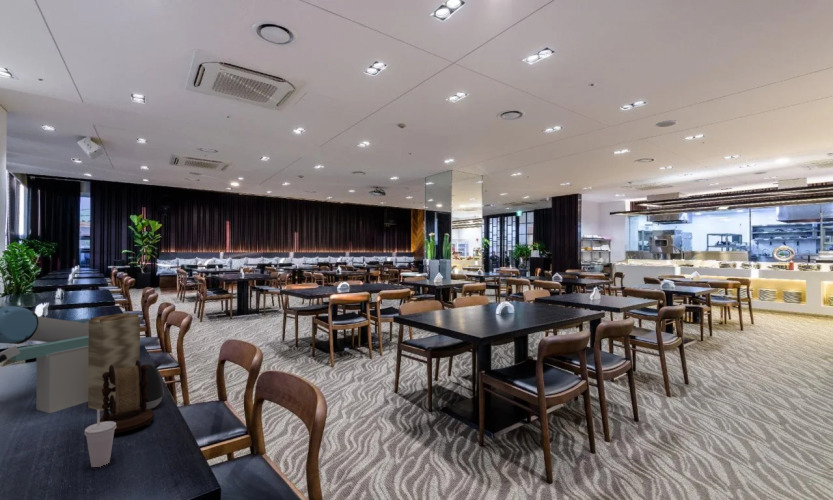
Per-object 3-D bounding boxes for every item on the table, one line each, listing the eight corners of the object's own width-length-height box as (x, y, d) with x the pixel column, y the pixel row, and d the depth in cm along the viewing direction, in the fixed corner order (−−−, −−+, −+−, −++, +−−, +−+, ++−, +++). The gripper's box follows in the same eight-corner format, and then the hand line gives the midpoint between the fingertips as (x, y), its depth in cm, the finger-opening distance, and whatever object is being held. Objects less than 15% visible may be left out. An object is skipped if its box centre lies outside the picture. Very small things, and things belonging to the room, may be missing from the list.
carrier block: (49, 413, 129) (49, 354, 128) (36, 409, 132) (36, 351, 132) (103, 396, 143) (104, 343, 143) (90, 393, 146) (91, 340, 146)
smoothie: (96, 457, 102) (96, 404, 102) (122, 456, 103) (122, 404, 103) (77, 471, 96) (77, 415, 96) (104, 470, 97) (105, 414, 96)
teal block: (15, 361, 122) (15, 350, 122) (10, 360, 124) (10, 349, 124) (95, 345, 143) (96, 336, 143) (90, 344, 144) (90, 335, 144)
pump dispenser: (171, 404, 137) (171, 361, 137) (141, 416, 127) (142, 370, 127) (150, 400, 141) (150, 358, 141) (120, 411, 131) (120, 366, 131)
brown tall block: (102, 411, 131) (102, 319, 130) (88, 407, 134) (88, 317, 133) (139, 398, 142) (140, 314, 141) (125, 395, 145) (126, 312, 145)
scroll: (100, 443, 109) (100, 373, 109) (89, 427, 119) (89, 362, 119) (160, 426, 121) (160, 362, 121) (146, 412, 130) (146, 353, 130)
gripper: (-81, 390, 98) (21, 340, 116) (-122, 378, 107) (-22, 334, 125) (-63, 413, 100) (34, 361, 118) (-105, 399, 110) (-9, 353, 128)
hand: (6, 347), depth 122 cm, fingers open, 13 cm apart
